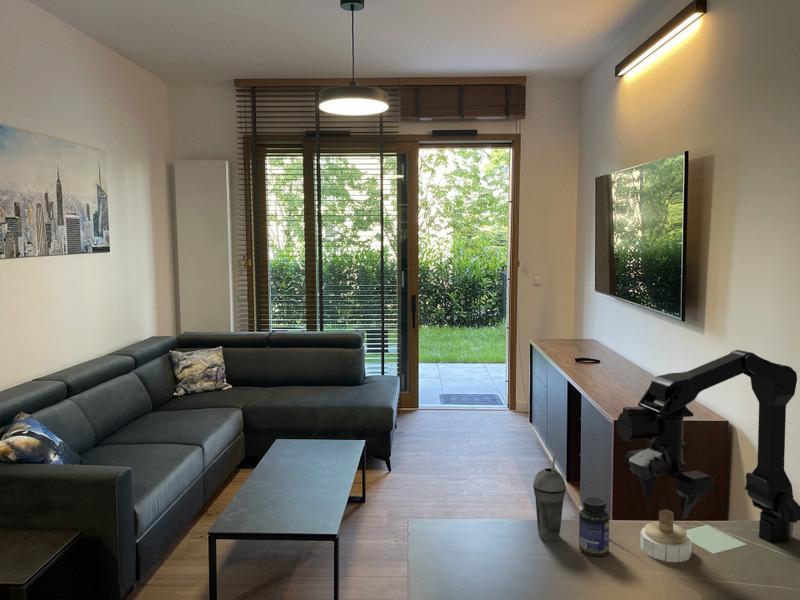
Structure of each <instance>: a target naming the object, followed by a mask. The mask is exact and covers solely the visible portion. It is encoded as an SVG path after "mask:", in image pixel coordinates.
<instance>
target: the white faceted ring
mask: <svg viewBox="0 0 800 600" xmlns="http://www.w3.org/2000/svg"><path fill="white" fill-rule="evenodd" d="M639 535H640V538H639V539H640V540H639V541H640V542H639V543H640V544H639V546H640V549H641V551H642V552H643V553H644V554H645V555H647V556H648V557H651V558H653V559H655V560H659V561H661V562H667V563H681V562H686V561H689V559H690V558H691V556H692V544H693V543H692V539H691V538H690V537H689V535H688V534H687V540H686V542H685V543H683V544H678V545H669V544H663V543H659V542H656V541H654V540H652V539H650V538H649V537H648V536H647V535H646V533H645V526H644V527H642V529H641V530H640V534H639Z"/></svg>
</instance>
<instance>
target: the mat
mask: <svg viewBox="0 0 800 600" xmlns="http://www.w3.org/2000/svg"><path fill="white" fill-rule="evenodd" d="M684 530H685V529H684ZM685 531H686V532H687V534H688V535H689V537H690V538H691V539H692V544H694V545H695V546H697V547H700V548H702V549H703V550H705V551H707V552H709V553H711V554H718V553H721V552H725V551H728V550H732V549H736V548H740V547H743V546H747V545H748V544H746V543H745V542H743V541H741V540H739V539H736V538H735V537H733V536H731V535H729V534H727V533H725V532H723V531H721V530H718V529H717V528H714V527H713V526H711V525H708V524H705V525H702V526H698V527H694V528H689V529H686V530H685Z"/></svg>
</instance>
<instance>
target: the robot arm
mask: <svg viewBox="0 0 800 600" xmlns="http://www.w3.org/2000/svg"><path fill="white" fill-rule="evenodd" d="M742 374H743V375H745V376H747V377H749V378H750V384H751V390H752V392H753V393H754V396H755V397H756V399H757V401H758V426H757V427H758V430H757V431H758V434H757V436H758V437H757V463H756V464H757V465H756V467H755V468H754V469H753V471H752V472H746V475H745V480H746V483H745V487H744V490H746V491H747V495H748V497H749V498H750V500H751V503H752V506H753V507H755V508H758V509H759V510H761V511H760V513H759V514H760V515H759V516H760V517H759V522H758V538H759V539H761V540H764V541H766V542H767V543H771V544H775V543H779V544H788V543H791V542H792V539H793V532H794V524H796V523H798V522H799V521H800V504H799V503H798V502H797V501H796V499H794V492H793V484H792V482H791V480H790V479H789V477H788V475H787V473H786V471H785V456H786V455H785V454H786V453H785V451H786V449H785V448H786V444H785V443H786V418H787V417H786V416H787V415H786V414H787V405H788V403H790V400H792V398H793V397H794V396H795V394H796V389H797V388H796V387H797V383H798V375H797V371H795V369H793V368H792V367H791V366H789V365H785V364H781V363H776V362H775V363H774V362H773V361H769V360H767V359H765V358H763V357H761V356H759V355H757V354H755V353H754V352H750V351H746V350H741V349H736V350H732V351H730V353H729V354H725V355H724V356H721V357H718V358H716V359H714V360H711V361H709V362H707V363H705V364H701V365H700V366H697V367H695V368H692V369H690V370H687V371H682V372H669V373H665V374H661V375H657V376H655V377H653V378H652V379H651V380H650V382H651V383H650V385H649V387H648V388H647V390H646V391H645V393H644V394H643V396H642V398H640V400H639V402H638V403H637V406H632V407H631V406H624V407H622V412H621V413H620V414H619V415H618V416H617V419H616V423H615V424H616V430H617V433H618V435H619V437H620V438H621V440H623V441H624V442H630V441H645V440H647V443H646V444H647V446H646V449H645V448H640V449H635V450H629V451H627V452H626V454H625V455H624V465H627V466H628V469H629V470H630V471H631V472H632V474H633V475H636V476H637V477H638V480H639V482H640V485H641V488H642V491H643V494H644V497H645V500H646V502H648V503H649V502H652V501H653V500H652V499H653V497H654V494H655V489H656V488H655V487H656V482H657V477H660V476H662V475H663V474H664V475H667V476H669V477H671V478H673V479H676V485H677V488H675V491H676V492H677V493H678V494H679V515H680V519H682V520H684V519H686V518H688V515H689V514H690V512H691V510H692V509H693V507H694V506H695V504H696V502H698V500H699V498H700V497H701V496H702V495H703V494H706V493H708V492H711V491H714V489H715V488H714V487H715V481H714V480H715V479H714V478H713V477H712V476H711V475H708V474H706V473H704V472H702V471H699V470H691V471H687V472H685V471H683V470H682V469H686V468H687V465H688V464H687V462H685V461H683V450H685V449H688V443H687V442H684V439H683V438H684V418H690V417H693V416H694V413H693V412H692V411H691V410H690V409H689V408H688V407H687V406H688V405H689V404H690V403H692V402H693V401H695V400H696V399H697V397H698V395H699V394H700V393H701V392H703V391H705V390H707V389H710V388H712V387H714V386H716V385H719V384H721V383H723V382H726V381H728V380H730V379H732V378H735V377H737V376H739V375H740V376H741V375H742ZM656 402H657V403H656ZM658 403H659V404H658Z"/></svg>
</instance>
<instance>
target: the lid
mask: <svg viewBox="0 0 800 600" xmlns="http://www.w3.org/2000/svg"><path fill="white" fill-rule="evenodd" d="M674 516H675V515H674V512H673V511H671V510H668V509H660V510H659V511H658V521H651V522H648V523H647V524H645V526H644V527H645V533H646V535H647V536H648V537H649V538H650V539H652V540H654V541H656V542H659V543H663V544H669V545H678V544H683V543H685V542H686V540H687V532H686V531H685V529H684V528H683V527H682V526H680V525H679V524H678V525H677V524H675V523H674Z"/></svg>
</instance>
